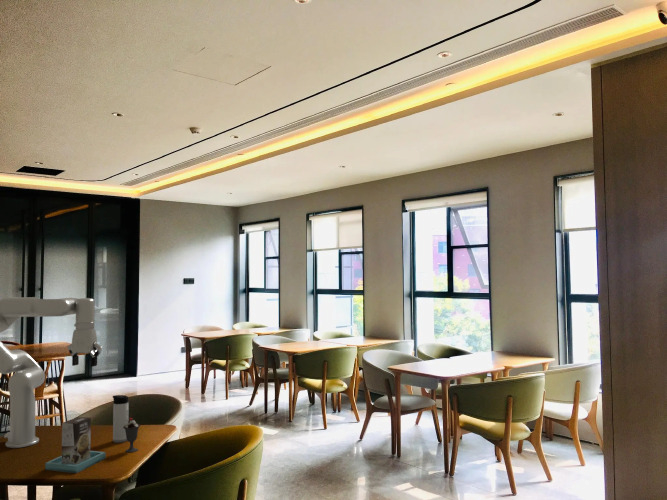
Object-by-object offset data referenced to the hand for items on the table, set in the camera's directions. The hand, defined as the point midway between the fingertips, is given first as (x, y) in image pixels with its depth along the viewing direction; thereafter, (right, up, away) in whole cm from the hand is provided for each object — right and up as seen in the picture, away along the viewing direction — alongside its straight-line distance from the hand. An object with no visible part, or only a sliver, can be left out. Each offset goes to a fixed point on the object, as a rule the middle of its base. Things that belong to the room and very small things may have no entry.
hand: (84, 365), depth 239 cm
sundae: (+25, -33, -12) cm, 43 cm away
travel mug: (+15, -34, +1) cm, 37 cm away
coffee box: (+9, -32, -28) cm, 43 cm away
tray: (+9, -32, -28) cm, 44 cm away
